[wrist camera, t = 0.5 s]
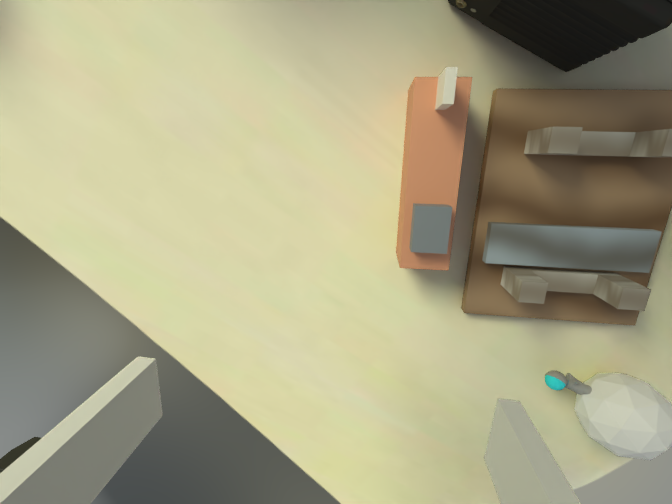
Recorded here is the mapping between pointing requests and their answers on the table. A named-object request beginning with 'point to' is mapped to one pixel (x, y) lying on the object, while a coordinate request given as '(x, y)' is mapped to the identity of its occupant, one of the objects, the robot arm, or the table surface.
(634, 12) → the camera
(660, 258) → the table surface
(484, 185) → the jig
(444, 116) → the orange block with tabs
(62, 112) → the table surface
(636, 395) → the perfume bottle
